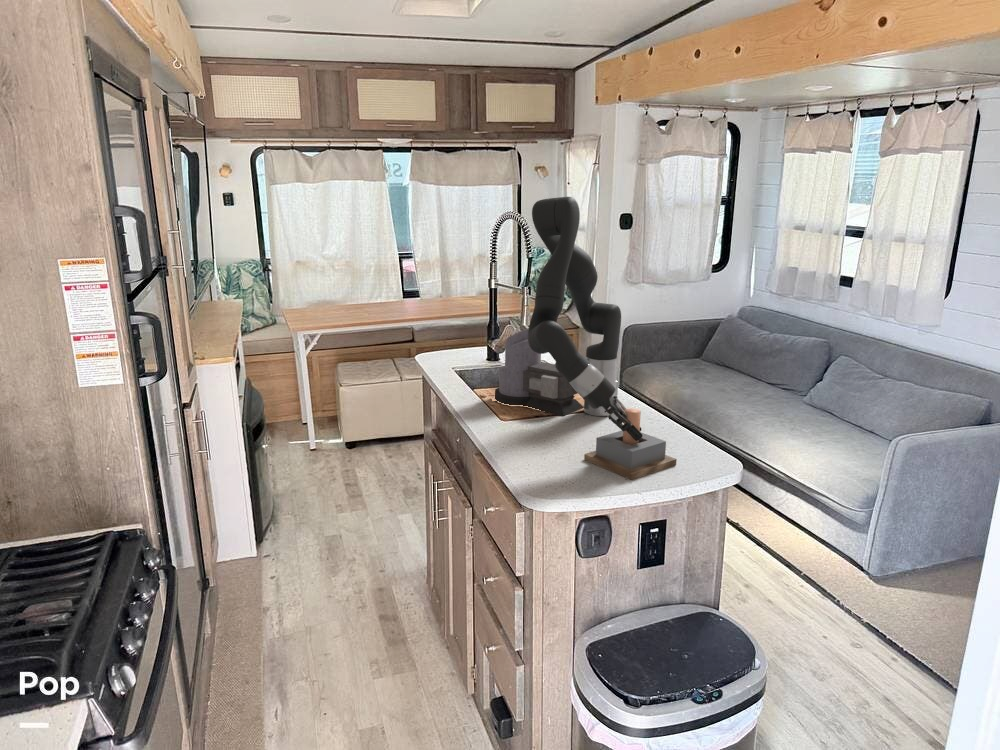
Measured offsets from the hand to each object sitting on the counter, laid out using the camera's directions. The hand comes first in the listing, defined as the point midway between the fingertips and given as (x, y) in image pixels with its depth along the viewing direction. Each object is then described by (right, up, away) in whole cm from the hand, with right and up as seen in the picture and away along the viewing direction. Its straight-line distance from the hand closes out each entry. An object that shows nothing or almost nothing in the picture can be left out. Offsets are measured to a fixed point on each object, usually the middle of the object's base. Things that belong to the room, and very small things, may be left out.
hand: (639, 434), depth 176 cm
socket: (-2, -5, +2) cm, 6 cm away
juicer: (-24, +6, +51) cm, 56 cm away
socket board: (-2, -7, +2) cm, 8 cm away
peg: (-2, -5, +1) cm, 5 cm away
